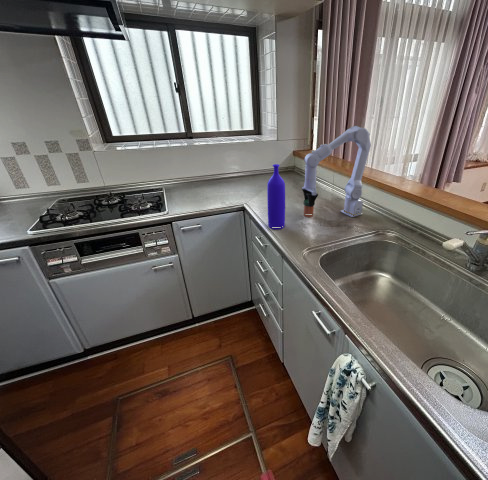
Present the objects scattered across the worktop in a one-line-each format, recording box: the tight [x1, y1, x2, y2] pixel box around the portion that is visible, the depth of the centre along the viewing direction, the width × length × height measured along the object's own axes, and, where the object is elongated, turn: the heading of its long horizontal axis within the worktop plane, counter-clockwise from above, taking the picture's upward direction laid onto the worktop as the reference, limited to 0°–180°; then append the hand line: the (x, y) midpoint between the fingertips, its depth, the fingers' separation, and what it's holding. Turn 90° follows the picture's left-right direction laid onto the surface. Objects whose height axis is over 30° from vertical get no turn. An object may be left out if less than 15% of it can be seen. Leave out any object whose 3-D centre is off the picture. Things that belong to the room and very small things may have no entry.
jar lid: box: [303, 199, 316, 206], centre depth 140 cm, size 6×6×2 cm
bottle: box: [266, 163, 286, 231], centre depth 124 cm, size 8×8×30 cm
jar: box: [303, 204, 315, 218], centre depth 142 cm, size 5×5×8 cm
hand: (309, 203), depth 140 cm, fingers open, 7 cm apart
